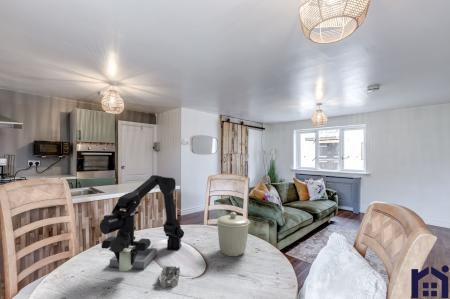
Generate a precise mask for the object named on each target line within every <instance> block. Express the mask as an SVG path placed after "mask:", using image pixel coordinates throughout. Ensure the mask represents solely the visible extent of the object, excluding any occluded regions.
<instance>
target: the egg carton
mask: <svg viewBox="0 0 450 299" xmlns="http://www.w3.org/2000/svg"><path fill="white" fill-rule="evenodd" d="M180 273H181V268H180V266H177V267H176V265H174V266H171V265H170V266H167V265H163V267H162V270H161V273H160V275H159V276H158V278H159V279H158V280H159V286H160V287H162V288H164V289H165V288H167V287H168V286H170V287H171V288H174V287H176V286H178V283H179V278H180ZM166 275H167V279H168V280H166V281H165V279H166ZM174 277H175V278H174Z"/></svg>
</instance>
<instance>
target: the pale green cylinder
mask: <svg viewBox="0 0 450 299" xmlns="http://www.w3.org/2000/svg"><path fill="white" fill-rule="evenodd" d="M131 250H132V249H130V248H127V249H124V250H123V251H122V252H120V256H119V268H118V270H119V272H120V271H121V272H127V271H130V270H132V269H131V268H132V265H131V252H130V251H131Z"/></svg>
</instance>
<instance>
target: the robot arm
mask: <svg viewBox="0 0 450 299" xmlns="http://www.w3.org/2000/svg"><path fill="white" fill-rule="evenodd" d="M157 186H158V187H159V191H160V192H161V194H162V195H163V201H164V210H165V216H166V218H165V219H166V221H165V223H163V225H162V227H163V232H164V233H165V237H167V240H166V241H167V244H166V245H167V246H166V247H167V248H166V250H167V251H168V250H169V251H179V250H180V249H181V247H182V245H183V244H182V239H183V237H184V235H185V232H184V230H183V229H182V227H181V224H180V221H179V220H178V218H177V216H176V215H177V214H176V207H175V198H174V197H175V196H174V192H175V191H176V179H175V178H173V177H168V176H162V175H160V174H159V175H158V174H152V175H151V176H150V177H149V178H148V179H147V180H145V181H144V182H143V183H142V184H140V185H139V186H138V187H137V188H136V189H134V190H133V191H130V192H127V193H125V194H123V195H121V196H119V198H118V199H117V202H116V204H115V205H114V208H113V209H112V211H111V213H110V214H105V215H104V216H103V219H101V221H100V223H99V231H101V233H102V235H108V234H111V233H114V232H116V236H109V237H108V238H105V239H103V241H102V242H101V244H100V246H101V247H100V248H101V249H105V250H106V249H107V250H109V251H110V252H112V253H113V254H114V256H116V258H117V261H118V264H119V256H120V252H122V251H123V250H124V248H128V247H133V249H132V250H131V251H130V252H131V265H132V264H133V263H134V260H135V258H136V256H137V253H138V252H139V251H144V250H146V249H147V248H150V246H151V239H149V238H141V239H139V240H136V236H135V230H137V228H136V226H135V218H136V217H135V215H137V214H139V213H140V212H139V211H138V210H137V208H138V206H140V204H141V202H142V199H143V198H144V197H146V196H147V195H148V194H149V193H150V192H151V191H152V190H153V189H154V188H155V187H157Z"/></svg>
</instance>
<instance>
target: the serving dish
mask: <svg viewBox="0 0 450 299" xmlns="http://www.w3.org/2000/svg"><path fill="white" fill-rule="evenodd" d="M128 248H130V249H133V246H129V247H128ZM124 249H127V248H124ZM157 250H158V248H156V247H155V248H154V247H148V248H147V249H146V250H144V251H139V252H138V253H137V256H136V258H135V260H134V263H133V264H132V268H131V269H130V270H137V271H138V270H139V271H140V270H141V271H145V269H146V268H147V267H148V266H149V265H150V264H151V263H152V261H153V260H154V259H155V258H156V257H157V255H158V254H157V252H158V251H157ZM109 268H110V269H119V264H118V261H117V258H116V256H115V255H114V256H112V257H111V258H110V259H109Z"/></svg>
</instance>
